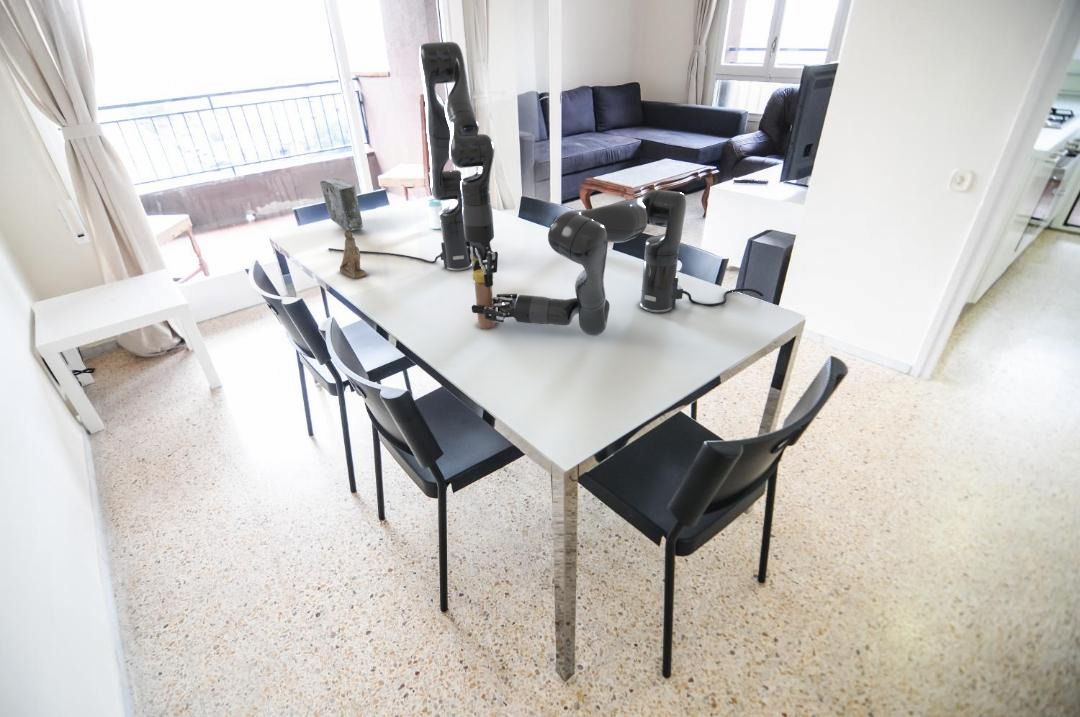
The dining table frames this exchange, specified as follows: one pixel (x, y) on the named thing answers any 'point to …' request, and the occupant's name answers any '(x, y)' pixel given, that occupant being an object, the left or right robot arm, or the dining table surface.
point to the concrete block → (342, 203)
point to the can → (435, 213)
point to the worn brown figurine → (351, 258)
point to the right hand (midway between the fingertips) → (476, 304)
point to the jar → (484, 303)
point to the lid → (479, 275)
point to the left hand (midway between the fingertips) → (483, 282)
